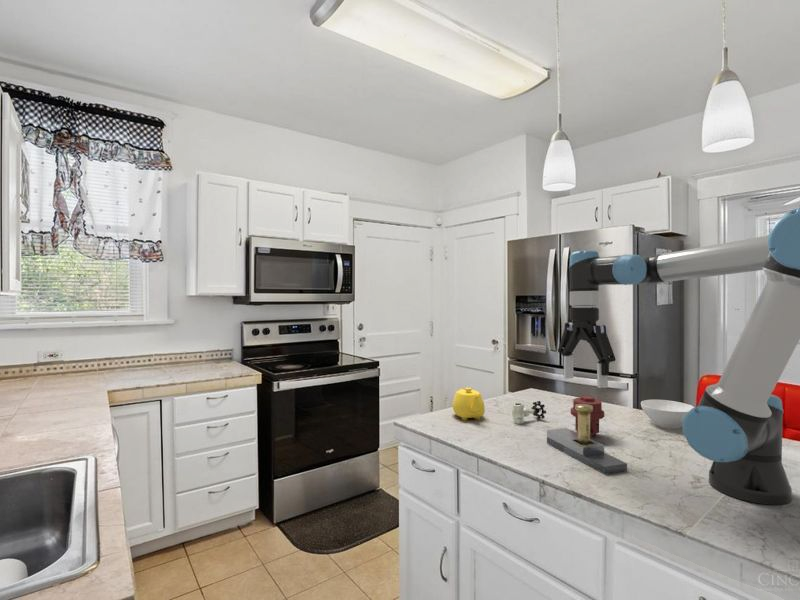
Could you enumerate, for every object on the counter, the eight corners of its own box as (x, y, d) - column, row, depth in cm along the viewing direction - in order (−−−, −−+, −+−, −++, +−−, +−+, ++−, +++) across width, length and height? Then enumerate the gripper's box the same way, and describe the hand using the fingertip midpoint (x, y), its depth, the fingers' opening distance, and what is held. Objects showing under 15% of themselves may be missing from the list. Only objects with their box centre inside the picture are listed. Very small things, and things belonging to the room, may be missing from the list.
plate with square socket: (627, 471, 113) (627, 455, 113) (604, 474, 111) (604, 458, 111) (566, 440, 136) (566, 427, 136) (546, 443, 134) (546, 430, 134)
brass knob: (596, 458, 122) (596, 407, 122) (582, 460, 121) (582, 408, 121) (584, 452, 127) (585, 403, 126) (571, 454, 125) (571, 404, 125)
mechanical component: (600, 431, 145) (608, 441, 135) (568, 429, 147) (573, 439, 137) (600, 394, 145) (608, 401, 135) (568, 393, 147) (573, 400, 137)
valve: (520, 426, 151) (546, 421, 157) (520, 407, 151) (546, 403, 156) (507, 421, 157) (533, 416, 163) (507, 402, 157) (533, 398, 162)
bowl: (697, 436, 140) (697, 414, 140) (640, 428, 148) (640, 407, 148) (693, 422, 154) (693, 402, 153) (641, 416, 162) (641, 397, 161)
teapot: (493, 423, 154) (493, 393, 154) (463, 426, 152) (463, 395, 151) (473, 409, 172) (473, 382, 171) (446, 411, 169) (446, 384, 169)
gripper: (630, 307, 112) (630, 390, 112) (566, 305, 136) (566, 374, 136) (606, 308, 110) (606, 392, 110) (545, 306, 134) (546, 375, 134)
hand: (584, 382), depth 123 cm, fingers open, 13 cm apart
